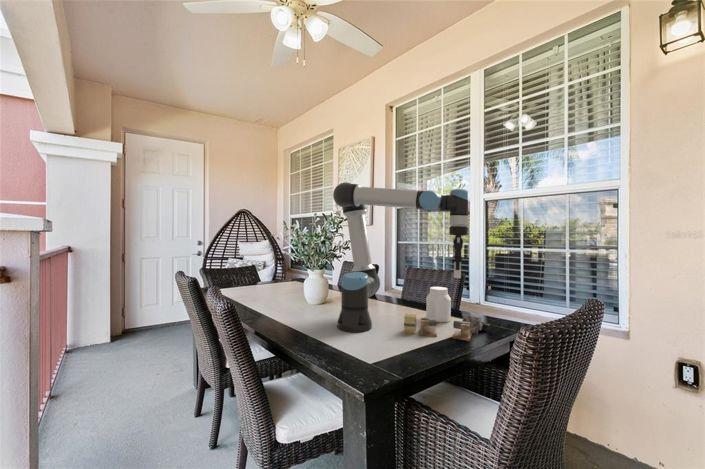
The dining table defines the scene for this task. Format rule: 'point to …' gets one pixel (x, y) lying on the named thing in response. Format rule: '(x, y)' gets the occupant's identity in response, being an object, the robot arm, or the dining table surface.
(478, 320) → the caster wheel
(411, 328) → the block
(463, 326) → the shaft right
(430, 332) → the shaft left
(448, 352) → the dining table surface
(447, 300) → the jar
